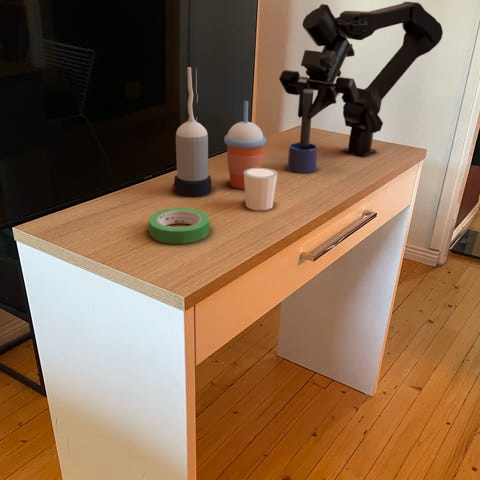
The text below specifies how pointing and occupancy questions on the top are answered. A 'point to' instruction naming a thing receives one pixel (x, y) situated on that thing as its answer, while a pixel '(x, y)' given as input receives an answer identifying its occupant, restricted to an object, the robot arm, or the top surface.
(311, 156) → the blue cup
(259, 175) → the white tapered cup
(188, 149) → the humidifier
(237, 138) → the cup with straw
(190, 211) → the tape roll
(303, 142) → the gray cylinder
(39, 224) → the top surface
